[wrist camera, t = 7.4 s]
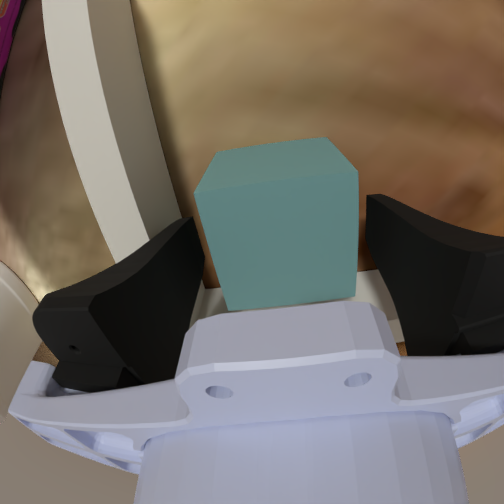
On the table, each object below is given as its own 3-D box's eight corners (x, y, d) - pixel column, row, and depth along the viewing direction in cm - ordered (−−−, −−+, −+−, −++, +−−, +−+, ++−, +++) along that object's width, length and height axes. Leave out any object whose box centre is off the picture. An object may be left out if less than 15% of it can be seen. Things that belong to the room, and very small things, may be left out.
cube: (326, 136, 12) (358, 171, 8) (332, 231, 15) (355, 296, 11) (217, 151, 13) (193, 193, 9) (237, 242, 16) (228, 310, 12)
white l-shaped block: (403, -51, 6) (443, -75, 3) (412, 288, 17) (435, 334, 14) (90, -8, 8) (40, -20, 4) (184, 314, 19) (171, 363, 15)
